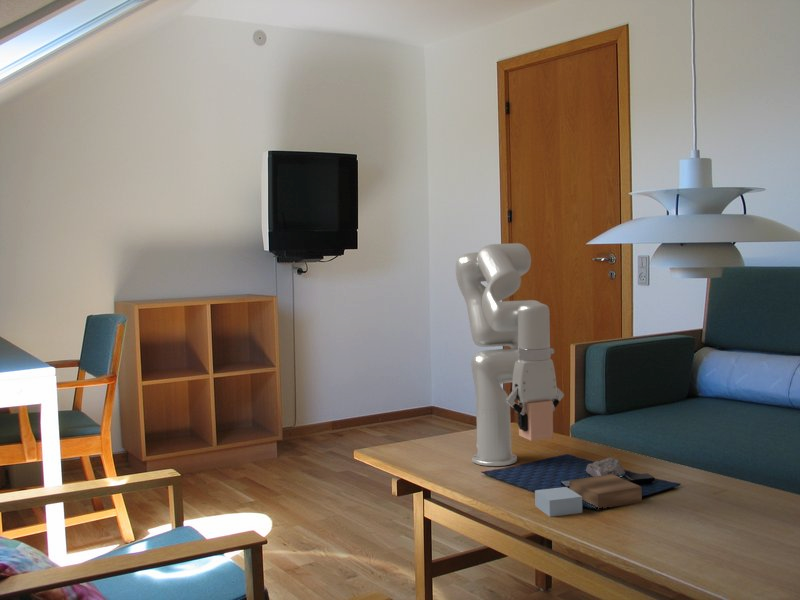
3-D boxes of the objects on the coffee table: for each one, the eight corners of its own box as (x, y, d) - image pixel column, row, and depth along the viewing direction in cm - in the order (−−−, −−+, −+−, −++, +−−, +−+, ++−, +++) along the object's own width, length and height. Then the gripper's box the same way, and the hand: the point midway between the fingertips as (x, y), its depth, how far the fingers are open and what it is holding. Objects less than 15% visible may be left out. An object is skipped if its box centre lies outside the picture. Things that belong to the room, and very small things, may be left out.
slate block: (535, 507, 188) (534, 490, 188) (566, 503, 190) (566, 486, 190) (549, 517, 181) (549, 500, 180) (582, 513, 183) (582, 496, 182)
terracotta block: (519, 435, 197) (518, 399, 197) (540, 432, 199) (539, 396, 199) (531, 440, 192) (530, 403, 191) (553, 437, 194) (552, 401, 193)
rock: (603, 482, 205) (603, 467, 205) (580, 472, 215) (580, 457, 215) (633, 478, 208) (632, 462, 208) (608, 468, 218) (608, 453, 218)
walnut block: (569, 496, 196) (569, 480, 196) (611, 489, 200) (611, 473, 200) (598, 511, 185) (597, 493, 184) (641, 503, 189) (641, 486, 188)
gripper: (557, 350, 200) (558, 421, 202) (495, 355, 195) (496, 429, 196) (573, 353, 193) (575, 427, 195) (509, 360, 188) (511, 436, 189)
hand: (535, 427), depth 195 cm, fingers closed on terracotta block, 6 cm apart
